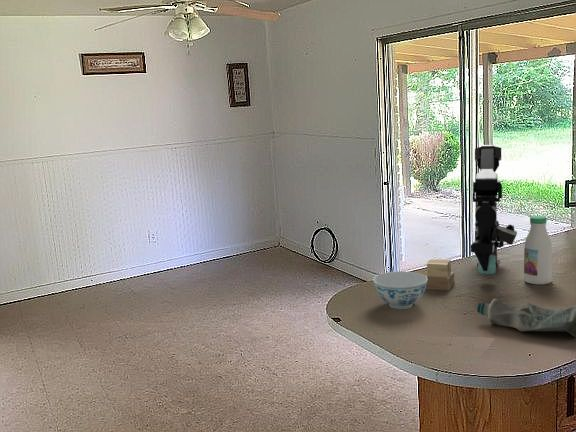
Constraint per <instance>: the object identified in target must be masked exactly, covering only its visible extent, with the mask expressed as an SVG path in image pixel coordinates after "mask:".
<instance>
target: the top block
mask: <svg viewBox="0 0 576 432" xmlns="http://www.w3.org/2000/svg"><path fill="white" fill-rule="evenodd" d="M451 263H452V262H451V259H449V258H447V259H446V258H430V259H429V260H428V262H427V263H426V274H427V276H430V277H446V278H447V277H448V276H449V274H450V272H452V267H451V266H452V264H451Z"/></svg>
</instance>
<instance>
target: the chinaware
mask: <svg viewBox="0 0 576 432" xmlns="http://www.w3.org/2000/svg"><path fill="white" fill-rule="evenodd" d="M427 280H428V279H427V277H426V276H425V275H424V274H422V273H419V272H415V271H414V272H412V271H398V270H397V271H388V272H383V273H380V274H378V275H375V276H374V277H373V280H372V282H373V285H374V288H375V290H376V292H377V294H378V296H380V298H381V299H382V300H383V301H384V302H385V303H388V305H389V307H390V308H392V309H396V310H397V309H398V310H405V309H410V308H412V307H413V306H414V303H416V302H417V301H418V300H420V299H421V297H422V296H423V294H425V293H424V292H425V291H426V290H427V289H426V285H427Z"/></svg>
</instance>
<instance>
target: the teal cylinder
mask: <svg viewBox="0 0 576 432" xmlns="http://www.w3.org/2000/svg"><path fill="white" fill-rule="evenodd" d="M477 260H478V259H477ZM477 263H478V265H477V266H478V267H477V269H478V270H477V271H478V273H479V274H480V275H481V274H482V275H493V274H496V267H497V266H496V256H495V255H492V254H491V255H490V259H489V264H488V270H487V271H483V269H482V267H481V265H480V262H479V260H478V261H477Z"/></svg>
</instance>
